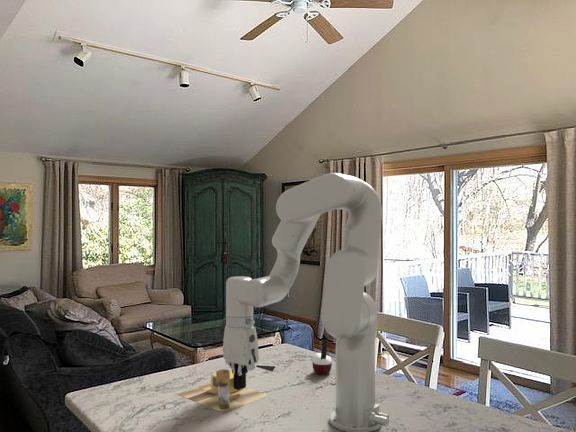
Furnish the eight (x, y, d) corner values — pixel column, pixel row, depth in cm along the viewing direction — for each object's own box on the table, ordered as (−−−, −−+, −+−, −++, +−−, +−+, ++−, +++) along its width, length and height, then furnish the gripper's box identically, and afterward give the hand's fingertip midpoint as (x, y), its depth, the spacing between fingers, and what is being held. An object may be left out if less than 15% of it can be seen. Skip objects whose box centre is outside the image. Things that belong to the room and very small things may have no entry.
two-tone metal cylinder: (233, 406, 120) (232, 371, 120) (223, 410, 117) (222, 374, 117) (224, 403, 122) (223, 368, 122) (214, 407, 119) (213, 372, 119)
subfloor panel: (268, 399, 127) (268, 394, 128) (224, 418, 115) (224, 413, 115) (220, 383, 141) (220, 379, 141) (176, 398, 128) (176, 393, 128)
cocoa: (314, 369, 154) (313, 333, 155) (333, 370, 153) (332, 333, 154) (310, 378, 145) (308, 339, 146) (330, 378, 144) (328, 339, 144)
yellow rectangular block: (243, 388, 132) (243, 374, 132) (226, 394, 128) (226, 380, 128) (227, 383, 137) (227, 369, 137) (210, 388, 132) (210, 374, 132)
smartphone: (244, 381, 143) (244, 378, 143) (257, 366, 158) (257, 363, 158) (267, 383, 142) (267, 380, 142) (277, 367, 157) (277, 364, 157)
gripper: (268, 323, 127) (268, 390, 126) (231, 316, 136) (231, 378, 136) (249, 327, 121) (249, 398, 121) (211, 320, 131) (211, 385, 131)
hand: (239, 388), depth 128 cm, fingers closed
